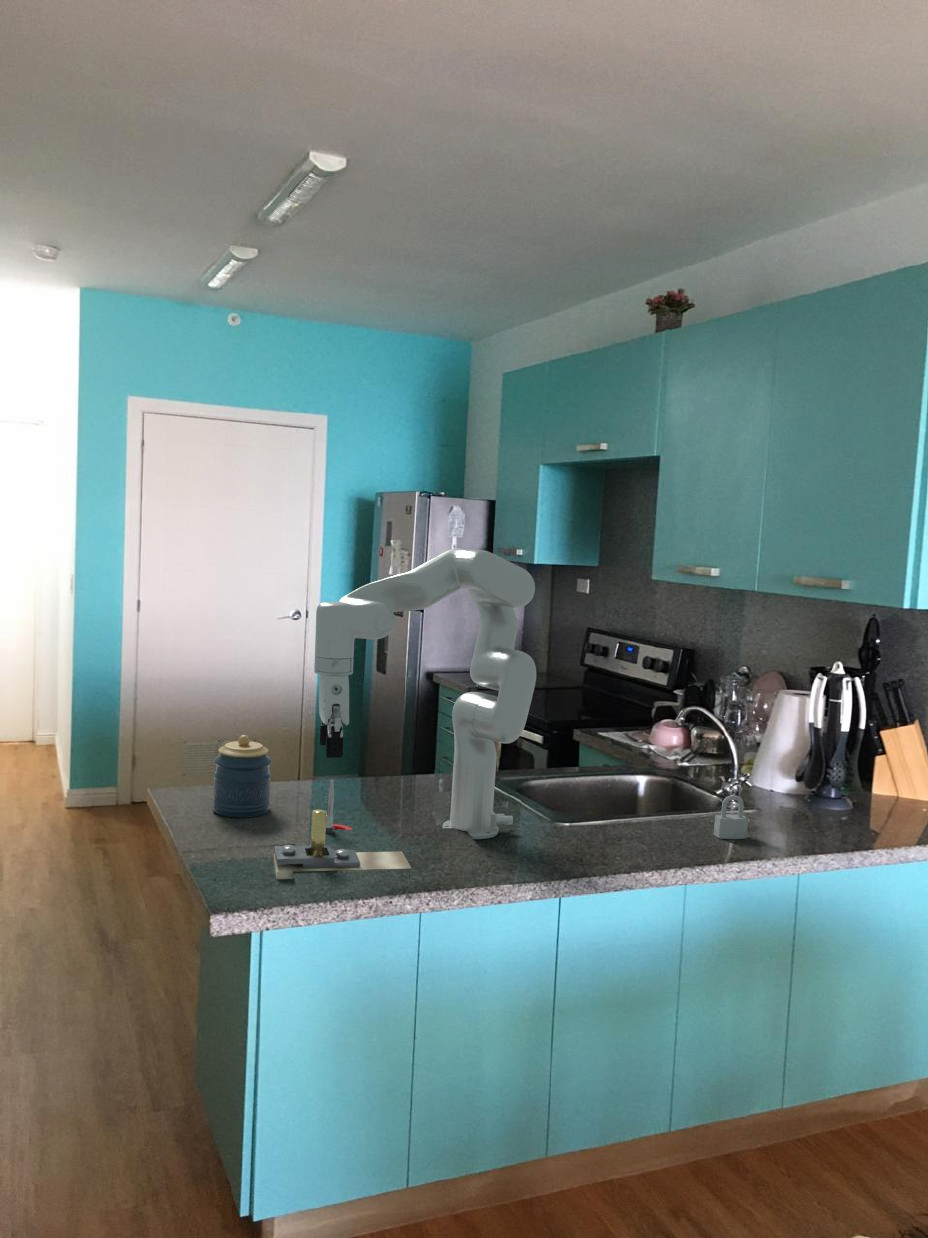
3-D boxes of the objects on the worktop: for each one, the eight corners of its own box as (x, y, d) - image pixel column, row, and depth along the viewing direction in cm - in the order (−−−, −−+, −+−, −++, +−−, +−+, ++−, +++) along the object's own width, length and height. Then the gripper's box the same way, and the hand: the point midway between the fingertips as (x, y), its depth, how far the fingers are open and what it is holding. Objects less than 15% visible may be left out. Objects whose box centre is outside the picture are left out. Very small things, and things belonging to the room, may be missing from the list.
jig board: (401, 858, 212) (402, 851, 212) (411, 875, 203) (411, 868, 203) (273, 861, 206) (273, 854, 206) (276, 879, 196) (276, 871, 196)
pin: (322, 859, 205) (325, 809, 204) (324, 863, 202) (327, 813, 201) (308, 859, 204) (311, 809, 203) (310, 864, 201) (313, 813, 200)
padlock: (719, 840, 239) (723, 797, 238) (712, 834, 243) (715, 793, 242) (747, 840, 241) (751, 798, 240) (739, 834, 245) (743, 793, 244)
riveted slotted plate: (354, 854, 209) (355, 840, 208) (359, 867, 201) (360, 852, 201) (273, 856, 205) (274, 841, 204) (276, 869, 197) (277, 854, 197)
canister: (243, 799, 247) (246, 726, 246) (281, 811, 240) (285, 736, 238) (200, 809, 237) (203, 734, 235) (238, 822, 229) (242, 744, 227)
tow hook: (320, 827, 231) (307, 838, 222) (324, 770, 230) (312, 778, 221) (356, 831, 230) (345, 842, 221) (361, 774, 229) (350, 782, 220)
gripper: (359, 673, 195) (356, 762, 197) (346, 658, 211) (343, 740, 213) (319, 673, 193) (316, 762, 195) (309, 658, 209) (307, 741, 211)
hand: (330, 751), depth 204 cm, fingers open, 9 cm apart
